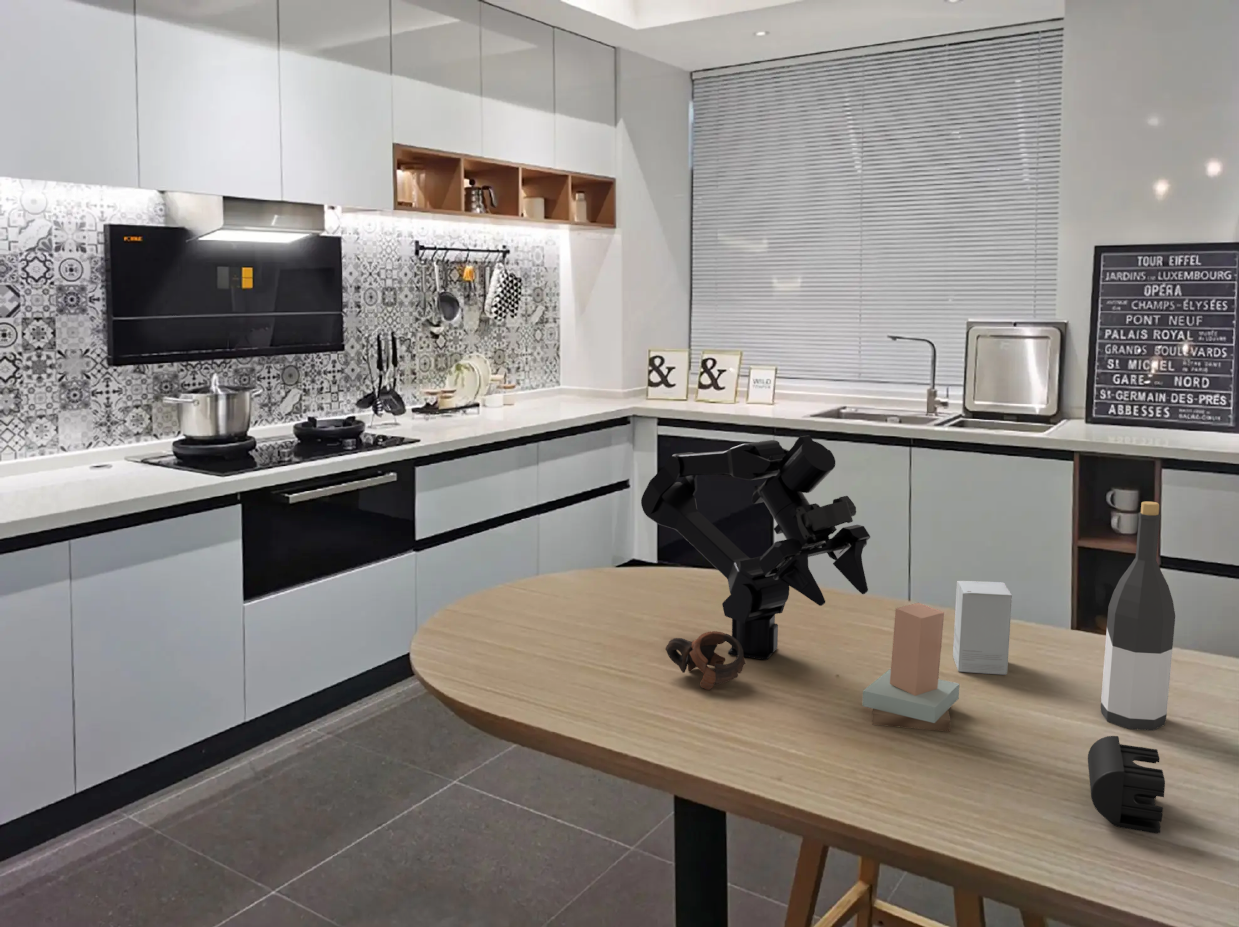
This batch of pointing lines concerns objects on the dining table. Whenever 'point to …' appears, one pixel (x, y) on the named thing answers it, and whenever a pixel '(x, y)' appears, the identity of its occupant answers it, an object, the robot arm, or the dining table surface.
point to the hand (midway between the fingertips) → (844, 598)
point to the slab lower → (910, 721)
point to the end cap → (1126, 784)
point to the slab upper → (910, 699)
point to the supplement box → (982, 627)
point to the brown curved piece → (707, 657)
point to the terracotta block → (916, 648)
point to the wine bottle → (1139, 637)
